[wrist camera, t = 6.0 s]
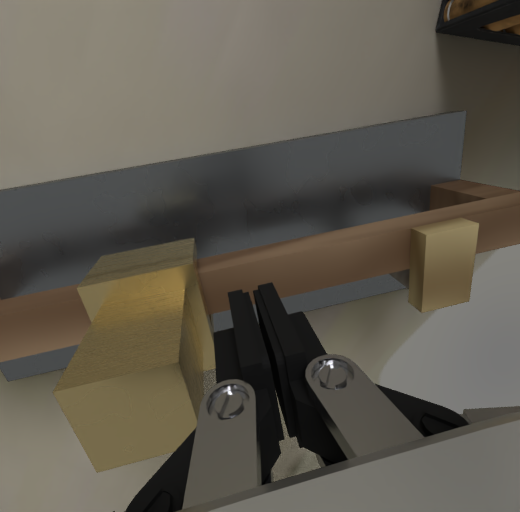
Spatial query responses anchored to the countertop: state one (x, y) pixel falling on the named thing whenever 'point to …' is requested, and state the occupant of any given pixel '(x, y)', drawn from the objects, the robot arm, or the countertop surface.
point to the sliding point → (139, 355)
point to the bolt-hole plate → (225, 209)
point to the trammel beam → (314, 265)
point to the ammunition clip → (481, 20)
